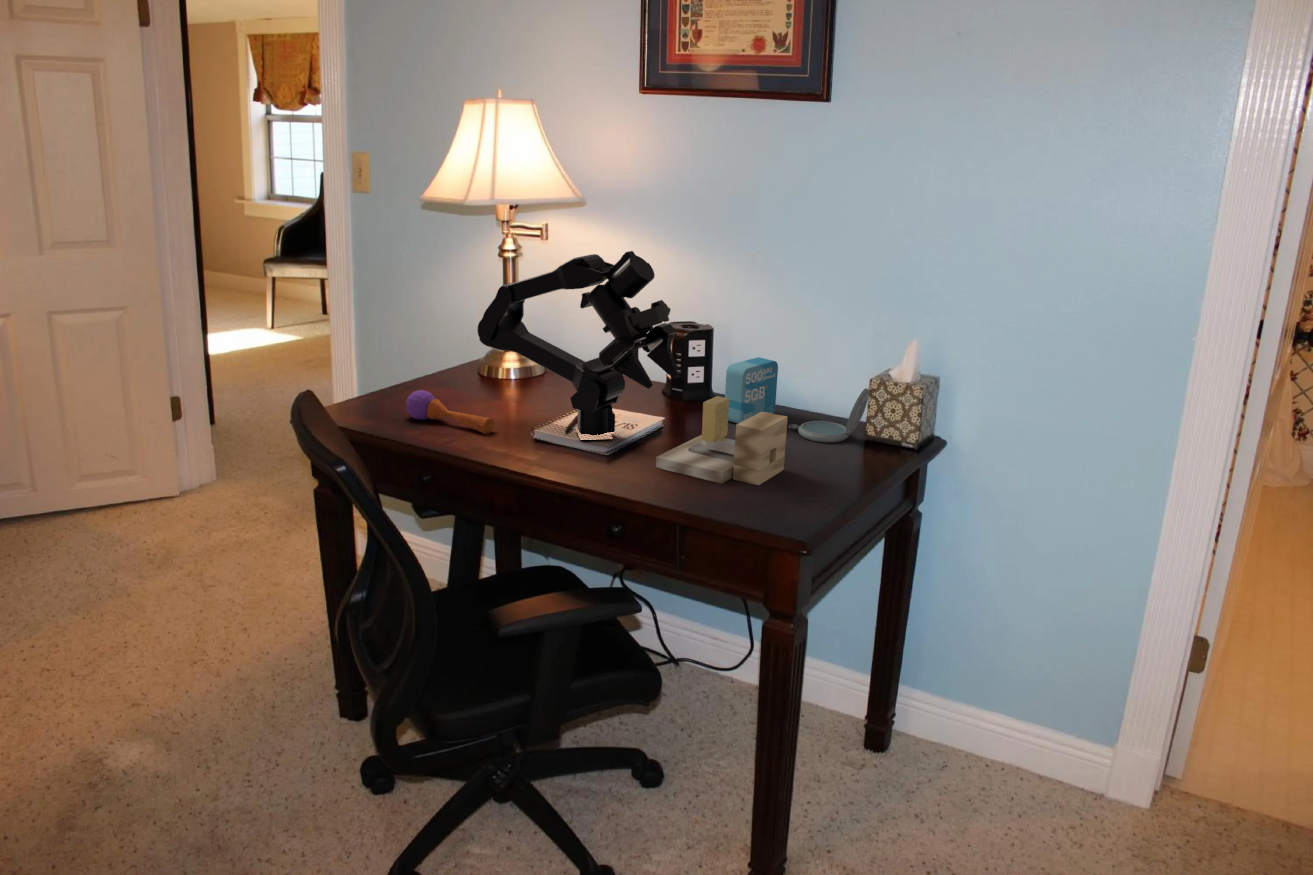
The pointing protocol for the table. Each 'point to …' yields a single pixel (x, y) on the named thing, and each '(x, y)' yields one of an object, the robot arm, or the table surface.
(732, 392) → the data package
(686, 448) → the door and jamb
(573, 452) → the table surface
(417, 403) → the purple maraca
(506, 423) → the table surface
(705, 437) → the bolt
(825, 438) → the pocket watch
